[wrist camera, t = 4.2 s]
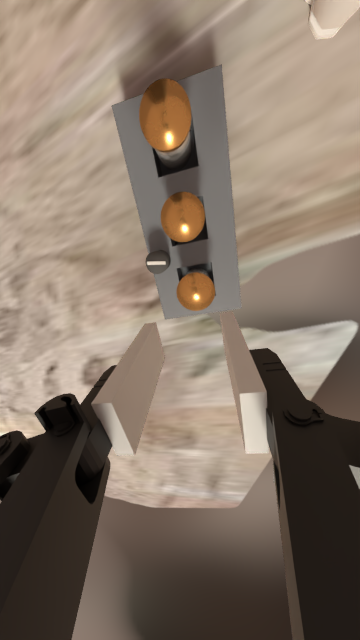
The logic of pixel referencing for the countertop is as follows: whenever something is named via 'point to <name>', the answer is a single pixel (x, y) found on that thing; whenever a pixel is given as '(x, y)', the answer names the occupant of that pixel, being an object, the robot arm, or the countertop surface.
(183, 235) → the knob mid
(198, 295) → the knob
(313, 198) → the countertop surface
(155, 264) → the dial
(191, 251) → the panel
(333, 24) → the cup
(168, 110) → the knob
